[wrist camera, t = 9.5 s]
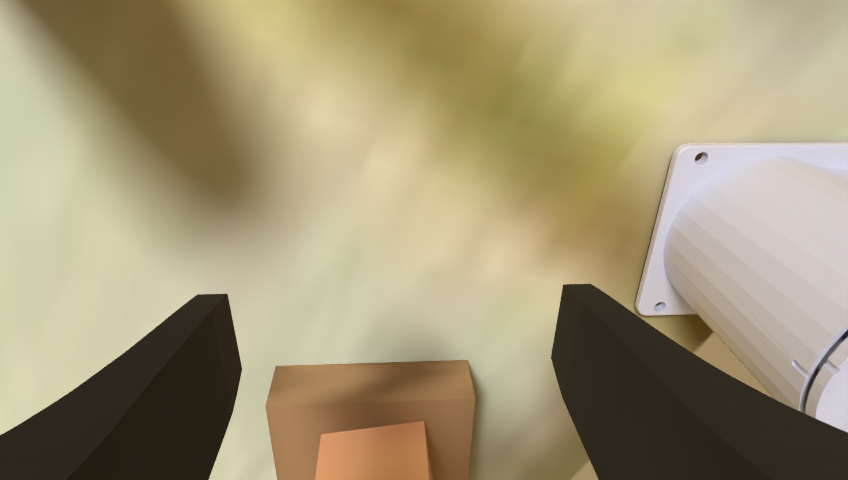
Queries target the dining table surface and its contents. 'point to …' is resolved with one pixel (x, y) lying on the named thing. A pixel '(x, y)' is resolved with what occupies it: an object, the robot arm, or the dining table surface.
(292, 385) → the block
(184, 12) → the dining table surface
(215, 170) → the dining table surface
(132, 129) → the dining table surface
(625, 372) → the robot arm
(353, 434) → the peach foam cube
